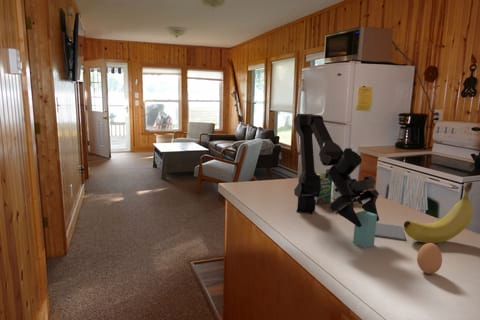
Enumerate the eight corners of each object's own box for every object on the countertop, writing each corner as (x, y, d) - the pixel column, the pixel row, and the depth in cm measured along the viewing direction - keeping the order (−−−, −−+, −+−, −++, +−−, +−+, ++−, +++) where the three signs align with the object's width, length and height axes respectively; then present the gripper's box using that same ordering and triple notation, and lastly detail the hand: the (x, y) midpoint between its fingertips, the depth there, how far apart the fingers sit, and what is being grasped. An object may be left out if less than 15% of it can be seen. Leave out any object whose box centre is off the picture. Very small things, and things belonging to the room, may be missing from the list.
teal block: (353, 243, 108) (355, 213, 107) (361, 239, 111) (364, 210, 109) (365, 248, 105) (368, 217, 103) (373, 244, 107) (377, 214, 106)
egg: (429, 280, 87) (434, 249, 86) (410, 269, 92) (414, 240, 91) (445, 276, 89) (449, 246, 88) (425, 266, 94) (429, 237, 93)
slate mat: (366, 234, 115) (366, 233, 115) (365, 223, 126) (366, 221, 126) (405, 240, 111) (405, 238, 111) (401, 227, 122) (401, 226, 122)
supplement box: (348, 200, 154) (351, 173, 152) (331, 198, 156) (334, 171, 153) (347, 195, 161) (349, 169, 159) (331, 194, 163) (333, 168, 161)
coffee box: (316, 204, 147) (318, 174, 144) (312, 202, 149) (314, 173, 147) (331, 202, 150) (333, 173, 148) (326, 200, 153) (329, 172, 150)
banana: (407, 246, 107) (415, 184, 103) (397, 238, 113) (404, 180, 109) (472, 244, 110) (482, 184, 106) (459, 236, 116) (467, 179, 112)
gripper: (340, 170, 101) (369, 217, 95) (376, 165, 112) (405, 206, 105) (318, 190, 109) (344, 234, 102) (354, 183, 120) (379, 222, 113)
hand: (369, 223), depth 106 cm, fingers open, 9 cm apart
